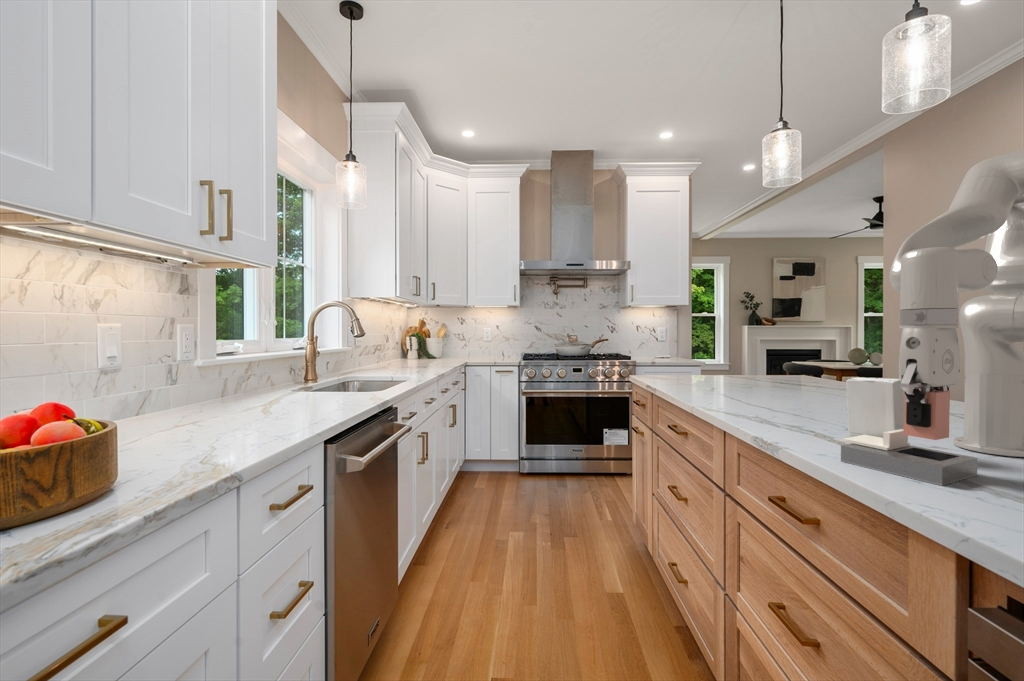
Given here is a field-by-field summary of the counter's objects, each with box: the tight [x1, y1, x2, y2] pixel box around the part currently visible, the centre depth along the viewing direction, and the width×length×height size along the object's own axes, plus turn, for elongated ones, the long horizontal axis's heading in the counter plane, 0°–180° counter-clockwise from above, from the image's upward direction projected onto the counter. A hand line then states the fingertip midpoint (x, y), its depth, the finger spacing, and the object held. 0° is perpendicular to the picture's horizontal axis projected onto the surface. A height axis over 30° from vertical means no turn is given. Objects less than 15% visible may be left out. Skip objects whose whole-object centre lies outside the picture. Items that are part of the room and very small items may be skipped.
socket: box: [840, 443, 978, 487], centre depth 82 cm, size 12×15×3 cm
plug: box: [903, 383, 951, 441], centre depth 79 cm, size 4×4×10 cm
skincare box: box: [845, 376, 904, 444], centre depth 93 cm, size 8×6×15 cm
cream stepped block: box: [841, 429, 911, 450], centre depth 87 cm, size 8×8×3 cm
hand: (926, 423), depth 79 cm, fingers closed on plug, 4 cm apart
